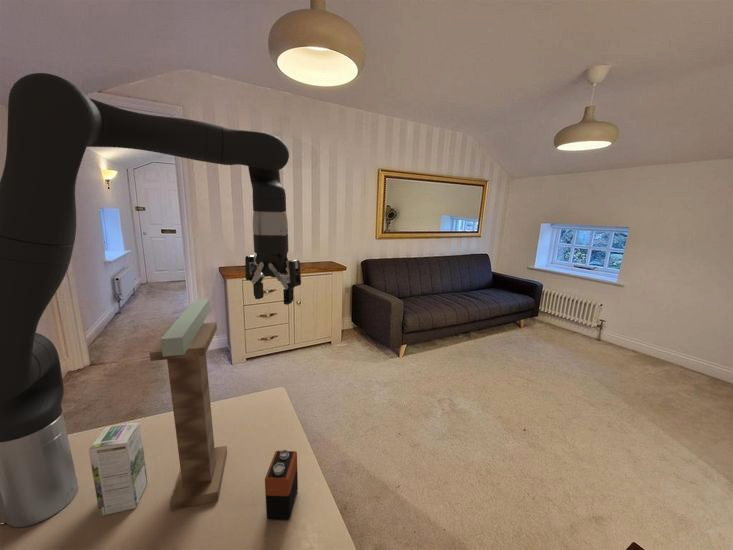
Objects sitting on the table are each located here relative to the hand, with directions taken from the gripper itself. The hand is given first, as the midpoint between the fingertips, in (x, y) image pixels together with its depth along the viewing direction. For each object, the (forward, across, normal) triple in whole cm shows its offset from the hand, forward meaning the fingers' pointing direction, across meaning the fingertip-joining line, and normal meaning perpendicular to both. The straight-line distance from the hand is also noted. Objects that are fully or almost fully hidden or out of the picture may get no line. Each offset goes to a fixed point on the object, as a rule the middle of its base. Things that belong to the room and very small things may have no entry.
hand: (273, 301), depth 71 cm
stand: (+34, -4, -19) cm, 39 cm away
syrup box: (+34, -13, -28) cm, 46 cm away
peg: (+2, -6, -17) cm, 18 cm away
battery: (+34, +15, -17) cm, 41 cm away
